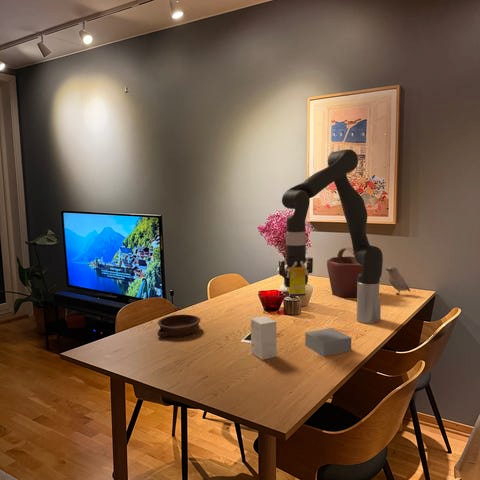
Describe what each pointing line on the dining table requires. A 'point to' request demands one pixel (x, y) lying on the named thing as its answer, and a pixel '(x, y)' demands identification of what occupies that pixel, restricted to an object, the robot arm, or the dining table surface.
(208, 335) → the dining table surface
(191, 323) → the dish
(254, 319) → the small box
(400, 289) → the bird
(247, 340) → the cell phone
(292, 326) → the dining table surface
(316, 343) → the base block
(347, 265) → the bucket
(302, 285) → the supplement box
